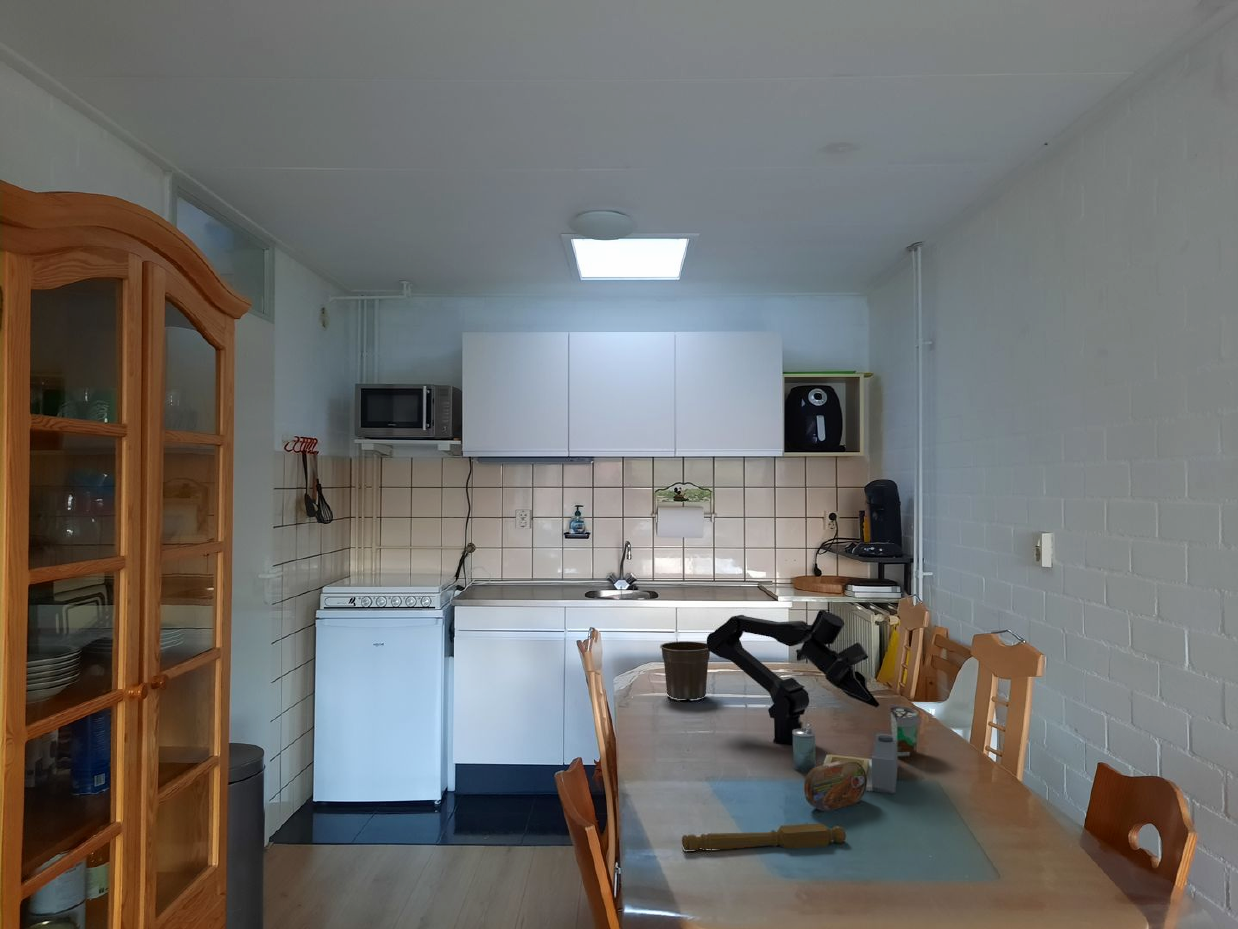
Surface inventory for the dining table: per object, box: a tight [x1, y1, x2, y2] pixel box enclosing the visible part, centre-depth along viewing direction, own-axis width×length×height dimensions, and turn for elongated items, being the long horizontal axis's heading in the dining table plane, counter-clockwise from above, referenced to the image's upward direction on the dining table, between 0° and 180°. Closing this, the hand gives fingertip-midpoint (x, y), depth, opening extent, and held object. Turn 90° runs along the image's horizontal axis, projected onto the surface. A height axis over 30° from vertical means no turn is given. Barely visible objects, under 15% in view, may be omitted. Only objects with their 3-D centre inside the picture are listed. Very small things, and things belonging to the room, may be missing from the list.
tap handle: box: [681, 822, 847, 851], centre depth 139 cm, size 3×3×30 cm
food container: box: [889, 704, 921, 760], centre depth 187 cm, size 12×6×10 cm, turn 168°
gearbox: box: [822, 732, 899, 795], centre depth 173 cm, size 16×18×8 cm
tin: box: [803, 760, 867, 813], centre depth 157 cm, size 15×3×8 cm, turn 117°
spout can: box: [792, 723, 817, 773], centre depth 178 cm, size 5×5×10 cm
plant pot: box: [659, 640, 711, 699], centre depth 243 cm, size 16×16×16 cm
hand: (873, 702), depth 181 cm, fingers open, 9 cm apart
